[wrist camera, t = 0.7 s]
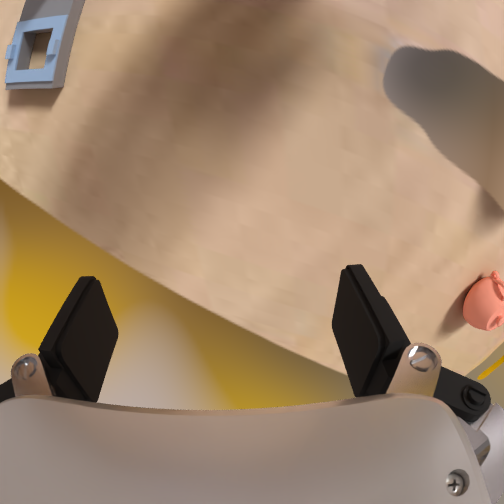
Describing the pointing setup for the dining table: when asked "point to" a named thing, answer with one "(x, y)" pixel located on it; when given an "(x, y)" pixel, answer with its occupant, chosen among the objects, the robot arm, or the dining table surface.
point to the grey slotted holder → (63, 31)
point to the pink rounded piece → (485, 303)
